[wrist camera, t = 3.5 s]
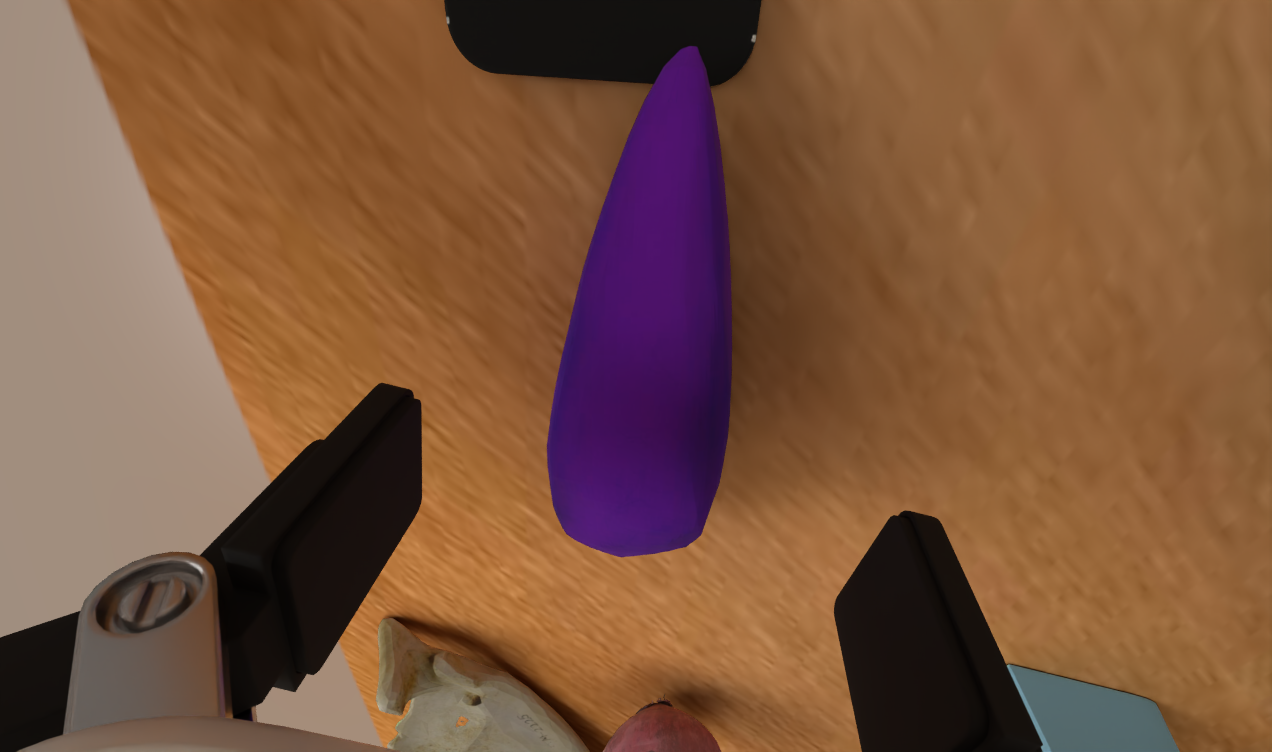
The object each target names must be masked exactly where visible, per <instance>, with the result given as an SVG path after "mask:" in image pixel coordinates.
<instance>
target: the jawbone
mask: <svg viewBox="0 0 1272 752" xmlns="http://www.w3.org/2000/svg"><path fill="white" fill-rule="evenodd" d="M378 646H379V682H378V689H377V696H376V702H377V704H378V707H379V710H380V711H383V712H385V713H389V714H394V715H402V714H403V711H404V708H405V705H406V704H407V703H408V701H409V700H411V704H410V709H409V711H408V713H407V714H406V716H405V717H404V718H403V719H402V720H401V721H400V722H398V723H397V725H396V728H395V729H396V730H397V732H398V734H397V736H396V737H395V738H394V739H393V740H392V741H390V742H389V743H388V746H387V747H388V749H392V750H397V751H401V752H590V751H589V750H588V748H587V747H586V745H585V744H584V743H583V741H582V740H581V739H580V737H579V736H578V735H577V734H576V733H575V731H574V730H573V729H572V728H571V727H570V726H569V724H568V723H567V722H566V721H565V720H564V719H563V718H562V717H561V716H560V715H559V714H558V713H557V712H556V711H555V710H554V709H553V708H552V707H550V706H549V705H548V704H547V703H546V702H545V701H543V700H542V699H541V698H540V697H539V696H538V695H537V694H536V693H534V692H533V691H532V690H531V689H530V688H529V687H527V686H526V685H524V684H523V683H521V682H520V681H518V680H517V679H515V678H514V677H513V676H511V675H510V674H509V673H507V672H503V671H500V670H497V669H494V668H491V667H488V666H486V665H483V664H480V663H478V662H476V661H474V660H471V659H468V658H466V657H463V656H460V655H457V654H455V653H452V652H449V651H445V650H441V649H437V648H433V647H430V646H428V645H427V644H425V643H424V642H422V641H421V640H420V639H419V638H418V637H416V636H415V635H414V634H413V633H412V632H411V631H410V630H409V629H407V628H406V627H405V626H404V625H402V624H401V623H399V622H398V621H396V620H395V619H392V618H386V619H383V620H382V621H381V623H380V625H379V628H378ZM461 716H463V717H465V718H467V719H468V720H469V721H468V722H467V723H466V725H465V726H459V727H456V722H457V721H458V719H459V717H461ZM461 722H463V721H461Z"/></svg>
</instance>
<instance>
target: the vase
mask: <svg viewBox="0 0 1272 752" xmlns="http://www.w3.org/2000/svg"><path fill="white" fill-rule="evenodd" d="M1007 667H1008V669H1009V672H1010V674H1011V676H1012V678H1013V680H1014V683H1015V685H1016V687H1017V689H1018V691H1019V693H1020V696H1021V698H1022V700H1023V702H1024V704H1025V706H1026V709H1027V711H1028V713H1029V715H1030V717H1031V719H1032V722H1033V724H1034V726H1035V728H1036V730H1037V733H1038V735H1039V737H1040V739H1041V741H1042V743H1043V746H1041V749H1042V751H1043V752H1180V751H1179V749H1178V747H1177V745H1176V743H1175V741H1174V739H1173V737H1172V735H1171V733H1170V731H1169V729H1168V727H1167V725H1166V723H1165V721H1164V719H1163V716H1162V714H1161V712H1160V710H1159V708H1158V706H1157V704H1156V703H1155V702H1153V701H1151V700H1149V699H1146V698H1143V697H1140V696H1136V695H1132V694H1129V693H1125V692H1121V691H1117V690H1113V689H1109V688H1104V687H1100V686H1096V685H1092V684H1088V683H1084V682H1080V681H1076V680H1072V679H1068V678H1064V677H1059V676H1055V675H1051V674H1047V673H1043V672H1039V671H1035V670H1031V669H1027V668H1023V667H1019V666H1014V665H1010V664H1008V665H1007Z"/></svg>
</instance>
